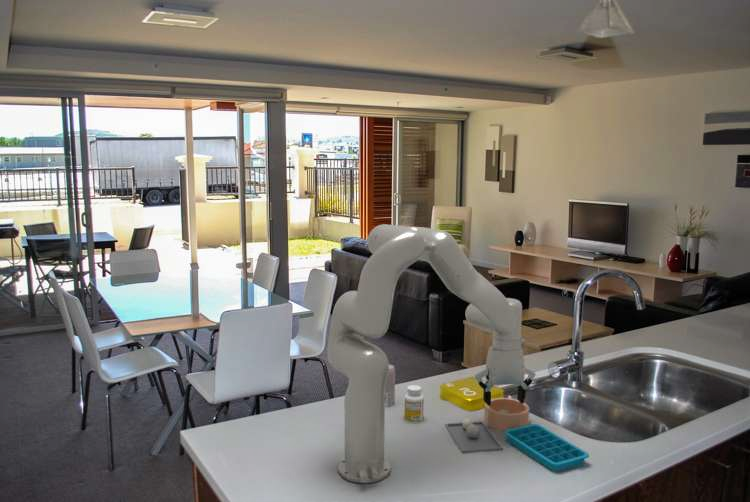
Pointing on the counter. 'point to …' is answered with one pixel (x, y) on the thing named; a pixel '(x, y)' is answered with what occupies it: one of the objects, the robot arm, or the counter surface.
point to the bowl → (503, 420)
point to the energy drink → (390, 387)
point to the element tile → (467, 393)
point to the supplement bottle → (414, 404)
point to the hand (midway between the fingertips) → (504, 402)
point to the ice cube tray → (546, 447)
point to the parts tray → (470, 445)
